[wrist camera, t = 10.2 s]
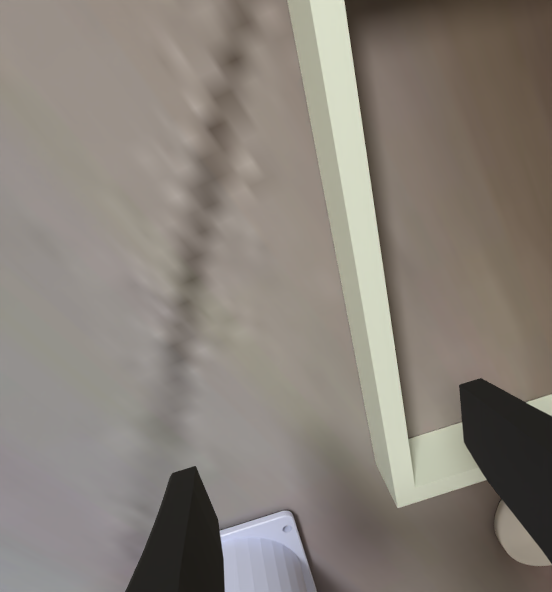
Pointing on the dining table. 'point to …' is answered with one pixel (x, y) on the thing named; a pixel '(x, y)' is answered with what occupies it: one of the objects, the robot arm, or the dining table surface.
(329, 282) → the dining table surface
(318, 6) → the rectangular frame
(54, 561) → the dining table surface
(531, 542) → the saucer
